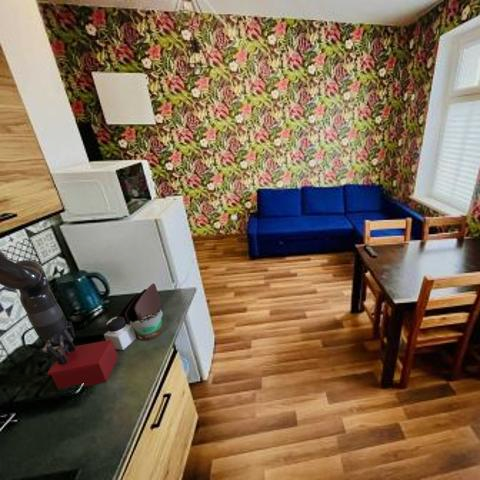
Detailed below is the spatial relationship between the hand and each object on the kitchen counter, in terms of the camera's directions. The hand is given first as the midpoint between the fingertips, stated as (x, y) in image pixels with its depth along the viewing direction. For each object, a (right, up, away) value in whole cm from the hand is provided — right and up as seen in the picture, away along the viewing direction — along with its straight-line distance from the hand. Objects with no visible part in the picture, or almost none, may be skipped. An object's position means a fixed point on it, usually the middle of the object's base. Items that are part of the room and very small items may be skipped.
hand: (67, 356), depth 93 cm
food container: (+16, -1, +23) cm, 28 cm away
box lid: (+4, -1, +2) cm, 4 cm away
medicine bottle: (+5, -3, +19) cm, 20 cm away
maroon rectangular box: (+4, -8, +5) cm, 10 cm away
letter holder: (+3, +4, +34) cm, 34 cm away
